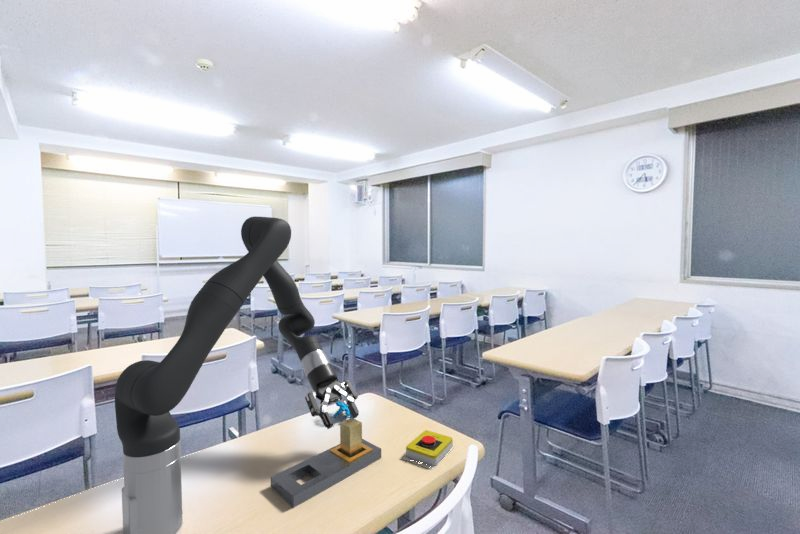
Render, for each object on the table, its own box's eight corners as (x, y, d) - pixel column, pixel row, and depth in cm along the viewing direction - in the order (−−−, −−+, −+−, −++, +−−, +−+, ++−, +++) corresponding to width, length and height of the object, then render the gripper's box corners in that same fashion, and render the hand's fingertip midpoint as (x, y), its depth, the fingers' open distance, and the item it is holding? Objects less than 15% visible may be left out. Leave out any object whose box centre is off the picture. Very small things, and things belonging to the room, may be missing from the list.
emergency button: (401, 444, 97) (428, 422, 110) (401, 460, 98) (428, 436, 110) (432, 455, 92) (457, 430, 105) (432, 472, 93) (457, 445, 105)
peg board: (293, 507, 79) (293, 494, 79) (270, 487, 86) (270, 475, 86) (381, 457, 98) (381, 447, 98) (356, 444, 105) (356, 434, 105)
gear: (355, 419, 117) (333, 396, 118) (341, 432, 117) (320, 409, 118) (360, 409, 128) (340, 388, 129) (348, 421, 128) (328, 400, 129)
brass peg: (350, 466, 94) (349, 427, 94) (340, 460, 97) (340, 422, 97) (362, 459, 97) (361, 422, 97) (352, 454, 100) (352, 417, 99)
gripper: (301, 368, 99) (327, 424, 92) (344, 357, 109) (370, 406, 102) (291, 383, 103) (315, 437, 95) (333, 371, 113) (358, 419, 106)
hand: (343, 421), depth 99 cm, fingers open, 8 cm apart
